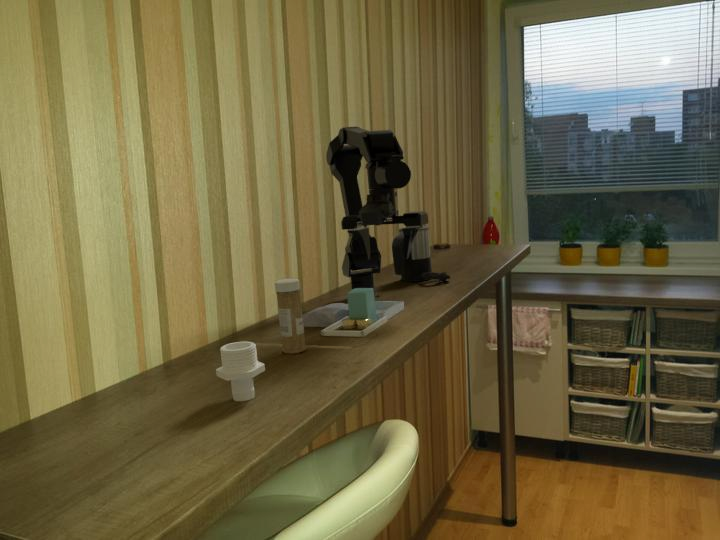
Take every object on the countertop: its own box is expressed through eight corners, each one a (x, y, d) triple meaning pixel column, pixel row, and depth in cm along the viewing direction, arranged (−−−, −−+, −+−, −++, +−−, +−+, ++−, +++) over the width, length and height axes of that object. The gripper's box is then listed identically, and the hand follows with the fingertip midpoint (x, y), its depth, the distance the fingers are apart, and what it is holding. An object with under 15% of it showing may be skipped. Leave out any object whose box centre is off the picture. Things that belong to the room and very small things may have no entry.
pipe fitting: (234, 409, 93) (228, 355, 92) (214, 397, 99) (208, 346, 98) (274, 397, 97) (268, 345, 95) (252, 386, 102) (246, 337, 101)
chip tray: (347, 322, 140) (347, 316, 140) (387, 323, 137) (386, 316, 136) (321, 337, 129) (320, 330, 129) (363, 339, 125) (363, 331, 125)
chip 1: (346, 325, 136) (345, 317, 136) (359, 326, 135) (358, 317, 135) (340, 329, 133) (339, 321, 133) (354, 329, 132) (353, 321, 132)
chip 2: (358, 326, 135) (357, 318, 134) (372, 326, 134) (372, 317, 134) (355, 330, 132) (354, 321, 131) (370, 329, 131) (369, 321, 131)
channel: (371, 309, 151) (370, 301, 150) (404, 310, 147) (403, 301, 147) (349, 322, 140) (348, 313, 140) (384, 323, 137) (383, 313, 136)
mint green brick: (350, 325, 136) (346, 293, 134) (358, 319, 140) (355, 288, 138) (369, 326, 134) (365, 293, 133) (376, 320, 138) (373, 288, 136)
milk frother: (407, 276, 193) (403, 226, 191) (459, 275, 187) (456, 223, 184) (390, 285, 180) (386, 232, 178) (446, 285, 174) (442, 229, 171)
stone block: (297, 338, 139) (338, 329, 134) (291, 316, 139) (332, 307, 134) (323, 326, 150) (361, 318, 145) (318, 305, 149) (356, 297, 145)
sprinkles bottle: (310, 350, 120) (303, 279, 118) (287, 356, 118) (279, 283, 116) (300, 346, 124) (293, 276, 122) (278, 350, 122) (270, 280, 120)
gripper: (327, 194, 140) (333, 265, 142) (409, 188, 132) (415, 264, 134) (349, 190, 150) (354, 258, 152) (426, 185, 142) (431, 255, 144)
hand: (387, 259), depth 145 cm, fingers open, 9 cm apart
